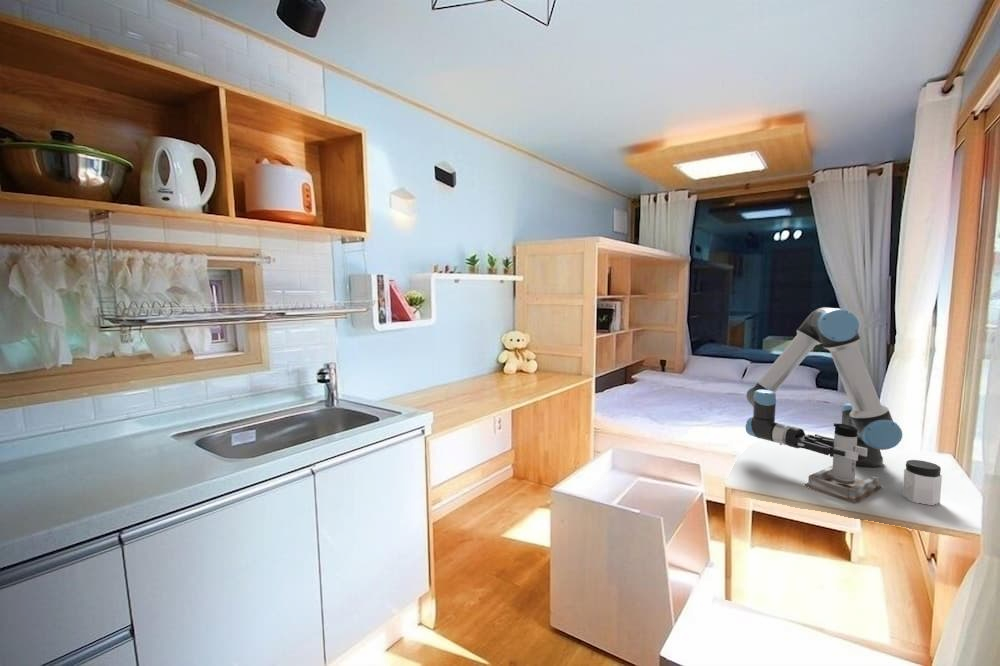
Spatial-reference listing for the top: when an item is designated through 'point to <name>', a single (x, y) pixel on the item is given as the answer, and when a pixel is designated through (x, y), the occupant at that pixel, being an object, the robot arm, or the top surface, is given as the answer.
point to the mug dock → (842, 486)
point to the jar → (922, 482)
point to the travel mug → (843, 466)
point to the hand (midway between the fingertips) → (862, 454)
